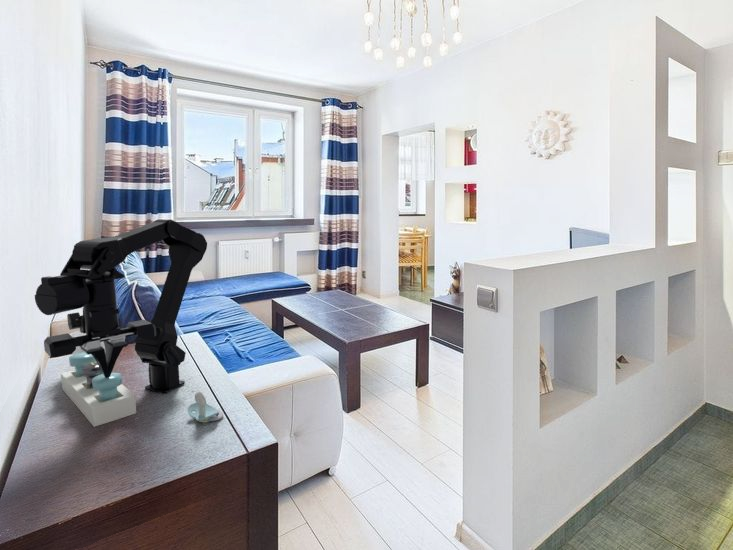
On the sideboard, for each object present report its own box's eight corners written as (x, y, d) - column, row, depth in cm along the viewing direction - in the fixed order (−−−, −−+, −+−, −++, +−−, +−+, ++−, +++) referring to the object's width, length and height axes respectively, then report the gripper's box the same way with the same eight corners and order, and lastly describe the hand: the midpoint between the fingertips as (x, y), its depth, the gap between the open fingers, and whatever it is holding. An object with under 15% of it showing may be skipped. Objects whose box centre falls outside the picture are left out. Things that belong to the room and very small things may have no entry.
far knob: (100, 374, 100) (98, 356, 99) (74, 380, 96) (72, 361, 96) (93, 368, 104) (91, 350, 103) (68, 374, 100) (66, 356, 99)
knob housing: (136, 413, 89) (135, 395, 88) (94, 426, 83) (92, 407, 83) (99, 379, 106) (98, 364, 105) (62, 389, 100) (60, 373, 99)
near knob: (126, 398, 88) (125, 377, 87) (98, 406, 84) (96, 384, 84) (118, 390, 92) (116, 370, 91) (90, 398, 88) (88, 377, 87)
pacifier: (211, 408, 92) (184, 417, 88) (210, 380, 91) (183, 388, 87) (229, 419, 88) (202, 429, 83) (229, 390, 87) (201, 399, 82)
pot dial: (110, 385, 94) (108, 364, 93) (86, 392, 91) (84, 370, 90) (104, 379, 97) (102, 359, 96) (80, 385, 94) (78, 364, 93)
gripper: (135, 291, 97) (140, 355, 99) (33, 304, 83) (42, 378, 86) (154, 298, 89) (159, 368, 92) (46, 314, 76) (56, 395, 78)
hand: (107, 376), depth 87 cm, fingers closed
